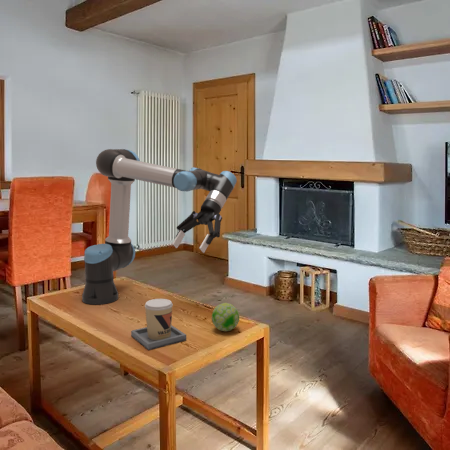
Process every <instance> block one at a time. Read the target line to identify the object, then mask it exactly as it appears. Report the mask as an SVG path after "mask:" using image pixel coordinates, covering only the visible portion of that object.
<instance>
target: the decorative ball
mask: <svg viewBox="0 0 450 450" xmlns="http://www.w3.org/2000/svg"><path fill="white" fill-rule="evenodd" d="M211 322H212V324H213V326H214V327H215V328H216V329H218V330H219V331H222V332H230V331H232V330H233V329H235V328H236V327H237V326H238V324H239V322H240V312H239V310H238V308H237V307H235V306H234V304H232V303H228V302H222V303H219V304H217V305H216V306H215V308H214V309H213V310H212V313H211Z"/></svg>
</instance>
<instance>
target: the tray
mask: <svg viewBox="0 0 450 450" xmlns="http://www.w3.org/2000/svg"><path fill="white" fill-rule="evenodd" d="M130 335H131V337H132V338H133V339H134V340H135V341H136V342H137V343H139V344H140V345H141V346H143V347H144V348H145V349H146V350H148V351H150V350H155V349H159V348H162V347H166V346H170V345H174V344H178V343H181V342H186V341H187V334H186V333H184V332H183V331H181V329H178V328H176V327H175V326H174V325H172V324H171V336H170V338H166V339H162V340H158V341H155V340H151V339H149V338H148V331H147V326H146V327H141V328H138V329H132V330H130Z"/></svg>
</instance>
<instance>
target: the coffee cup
mask: <svg viewBox="0 0 450 450" xmlns="http://www.w3.org/2000/svg"><path fill="white" fill-rule="evenodd" d="M144 309H145V317H146V318H145V320H146V327H147V331H148V338H149V339H151V340H155V341H158V340H162V339H166V338H170V336H171V325H172V320H173V318H172V316H173V303H172V301H171V300H170V299H167V298H154V299H150V300H147V301H146V302H145V305H144Z"/></svg>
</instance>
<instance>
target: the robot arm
mask: <svg viewBox="0 0 450 450" xmlns="http://www.w3.org/2000/svg"><path fill="white" fill-rule="evenodd" d="M95 165H96V168H97V170H98V172H99V173H100V174H101V175H102V176H104V177H107V180H108V181H109V182H110V184H111V185H110V202H109V205H110V206H109V224H108V225H109V226H108V227H109V228H108V236H107V237H106V238H105V239H104V243H98V244H94V245H93V244H92V245H90V246H88V247H87V248H85V250H84V255H83V256H84V257H83V260H84V273H85V275H84V276H85V283H84V284H85V285H84V287H83V292H82V296H81V299H82V303H83V304H86V305H97V306H98V305H105V304H110V303H113V302H116V301H117V300H118V299H119V292H118V290H117V286H116V283H115V281H114V272H116V271H118V270H120V269H124V268H126V267H127V266H129V265H131V264H132V263H133V262H134V259H135V258H136V249H135V247H134V245H133V243H132V239H131V238H130V237H129V227H130V212H131V211H130V210H131V190H132V184H134V183H135V182H136V181H142V182H147V183H150V184H151V183H152V184H155V185H161V186H165V187H169V188H173V189H177V190H178V191H180V192H190V191H195V190H200V189H201V190H205V191H207V192H208V194H207V195H206V197H205V200H203V203H202V204H201V206H200V210H199V212H198V213H197V212H196V211H195V210H193V211H192V212H191V213H190V215H188V217H187V218H185V219H184V220H183V221H182V222H181V223H179V224H178V225H177V226H176V229H177V230H178V232H177V234H176V235H175V239H174V240H173V242H172V246H174V248H175V249H178V247H179V246H180V245H181V243H182V241H183V239H184V237H185V236H186V233H187V232H189V231H190V230H191V229H193V228H195V227H196V226H200V225H205V226H207V228H208V233H207V234H206V236H205V238H204V239H203V241H202V243H201V244H200V246H199V248H198V249H199V250H200V251H201V252H202V253H203V254H205V252H206V250H207V248H208V247H209V245H211V244H212V242H213V240H214V239H215V238H220V236H221V226H222V225H221V224H222V223H221V222H222V220H223V217H222V215H221V214H220V213H221V211H222V209H223V207H224V206H225V203H226V202H227V200H228V199H229V197H230V195H231V194H232V192H233V190H234V189H235V186H236V184H237V177H236V175H235V174H234V173H232V172H231V171H229V170H223V171H221V172H220V173H219V174H217V173H213V172H211V171H208V170H204V169H202V168H199V167H194V166H193V167H191V168H190V169H189V170H186V169H182V168H180V169H179V168H175V167H170V166H167V165H166V166H165V165H160V164H157V163H156V164H155V163H150V162H145V161H140V158H139V156H138V155H137V153H136V152H135V151H133V150H130V149H126V148H125V149H124V148H121V149H118V148H115V149H113V148H110V149H109V148H108V149H104V150H102V151H101V152H100V153H98V155H97V156H96V160H95ZM135 180H136V181H135ZM213 221H214V224H213Z"/></svg>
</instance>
